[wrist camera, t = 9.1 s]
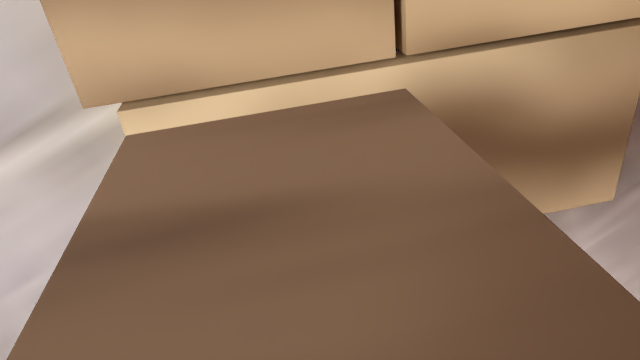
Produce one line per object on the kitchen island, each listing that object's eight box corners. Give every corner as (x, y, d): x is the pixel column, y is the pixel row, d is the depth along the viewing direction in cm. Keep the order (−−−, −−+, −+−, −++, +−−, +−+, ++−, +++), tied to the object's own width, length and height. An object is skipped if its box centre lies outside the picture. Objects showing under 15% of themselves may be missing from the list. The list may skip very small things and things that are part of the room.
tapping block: (410, 291, 11) (576, 629, 6) (198, 335, 10) (161, 748, 5) (405, 88, 8) (696, 354, 3) (126, 135, 8) (-93, 539, 3)
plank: (590, 183, 22) (613, 199, 21) (184, 262, 21) (180, 286, 19) (626, 15, 18) (657, 22, 17) (126, 97, 17) (116, 112, 15)
